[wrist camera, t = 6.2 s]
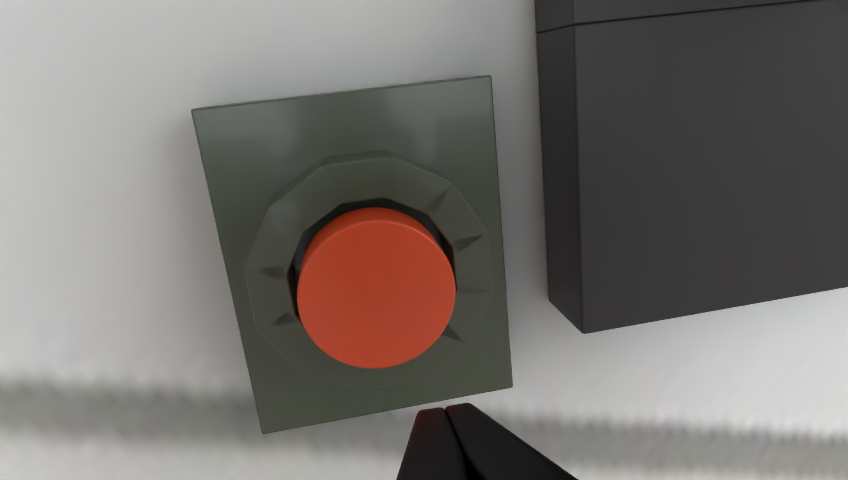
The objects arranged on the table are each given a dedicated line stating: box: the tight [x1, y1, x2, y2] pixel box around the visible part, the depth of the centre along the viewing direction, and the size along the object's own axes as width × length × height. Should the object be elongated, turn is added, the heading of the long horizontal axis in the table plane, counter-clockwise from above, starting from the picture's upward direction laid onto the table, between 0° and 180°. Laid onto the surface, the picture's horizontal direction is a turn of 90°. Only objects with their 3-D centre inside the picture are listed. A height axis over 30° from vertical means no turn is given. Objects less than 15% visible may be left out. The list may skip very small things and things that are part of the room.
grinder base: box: [535, 0, 848, 334], centre depth 18 cm, size 17×15×3 cm
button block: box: [191, 75, 513, 434], centre depth 18 cm, size 11×9×3 cm
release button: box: [297, 207, 456, 369], centre depth 16 cm, size 4×4×2 cm
